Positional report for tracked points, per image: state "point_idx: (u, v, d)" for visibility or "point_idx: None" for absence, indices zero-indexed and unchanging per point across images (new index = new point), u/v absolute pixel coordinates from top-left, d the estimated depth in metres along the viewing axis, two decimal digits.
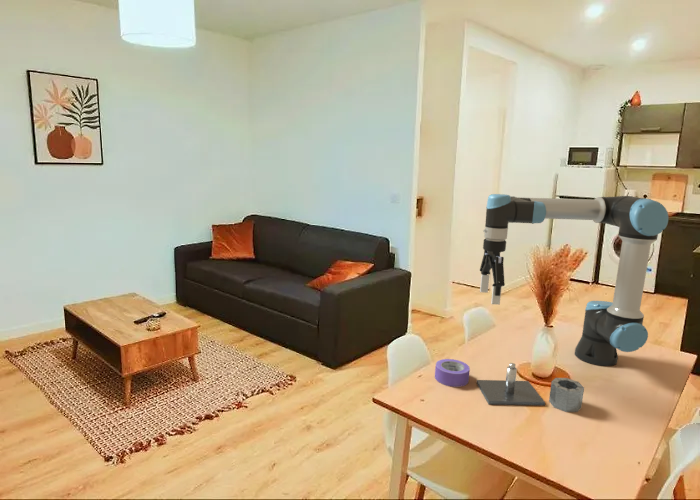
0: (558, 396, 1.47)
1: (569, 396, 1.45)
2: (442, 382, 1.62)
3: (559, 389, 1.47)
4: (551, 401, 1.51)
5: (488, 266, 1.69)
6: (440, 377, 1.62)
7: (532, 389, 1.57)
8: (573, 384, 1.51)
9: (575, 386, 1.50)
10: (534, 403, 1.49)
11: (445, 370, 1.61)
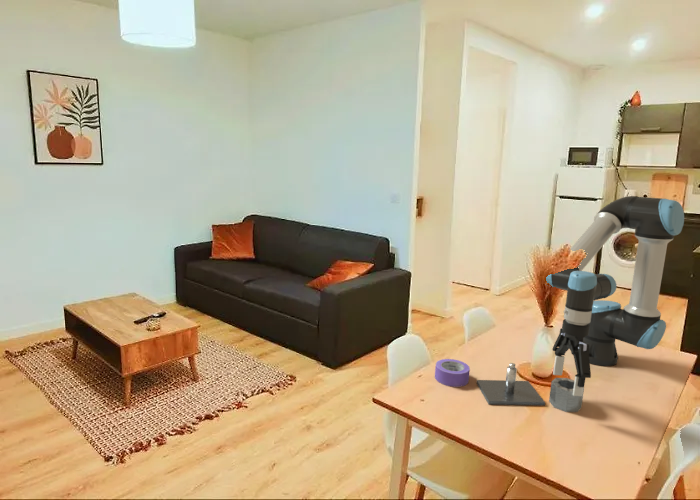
0: (558, 396, 1.47)
1: (569, 396, 1.45)
2: (442, 382, 1.62)
3: (559, 389, 1.47)
4: (551, 401, 1.51)
5: (565, 348, 1.51)
6: (440, 377, 1.62)
7: (532, 389, 1.57)
8: (573, 384, 1.51)
9: None
10: (534, 403, 1.49)
11: (445, 370, 1.61)
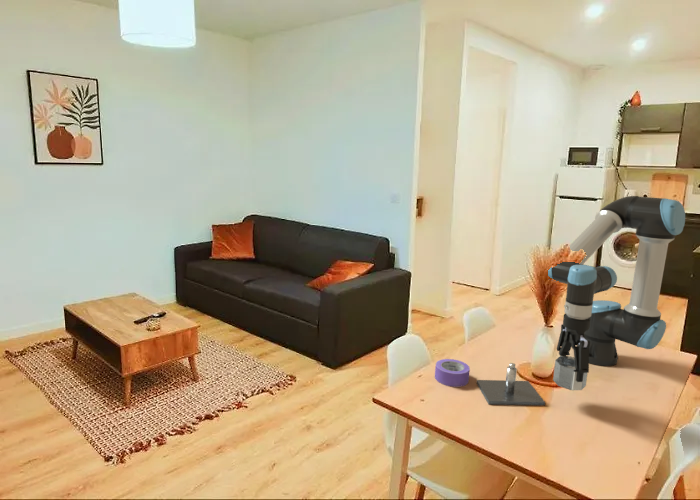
0: (562, 375, 1.46)
1: None
2: (442, 382, 1.62)
3: (563, 367, 1.46)
4: (555, 380, 1.50)
5: (568, 345, 1.50)
6: (440, 377, 1.62)
7: (532, 389, 1.57)
8: None
9: None
10: (534, 403, 1.49)
11: (445, 370, 1.61)
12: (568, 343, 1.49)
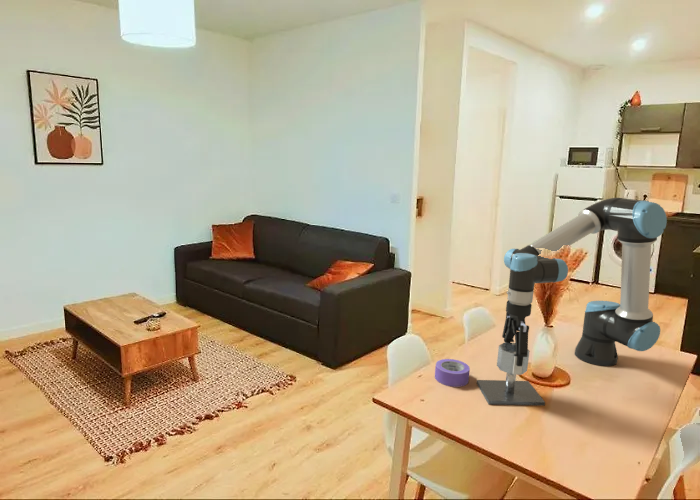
0: (504, 359, 1.51)
1: None
2: (442, 382, 1.62)
3: (505, 352, 1.50)
4: (498, 365, 1.54)
5: (512, 331, 1.55)
6: (440, 377, 1.62)
7: (532, 389, 1.57)
8: None
9: None
10: (534, 403, 1.49)
11: (445, 370, 1.61)
12: (511, 329, 1.54)
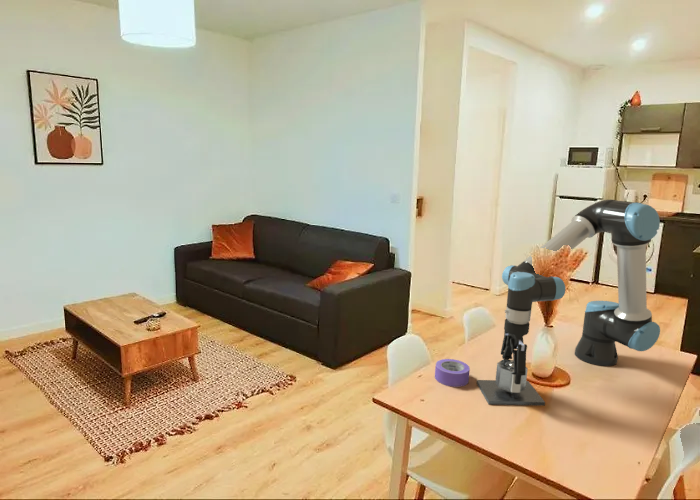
0: (502, 377, 1.52)
1: None
2: (442, 382, 1.62)
3: (503, 370, 1.52)
4: (497, 382, 1.56)
5: (510, 349, 1.56)
6: (440, 377, 1.62)
7: (532, 389, 1.57)
8: None
9: None
10: (534, 403, 1.49)
11: (445, 370, 1.61)
12: (510, 347, 1.56)
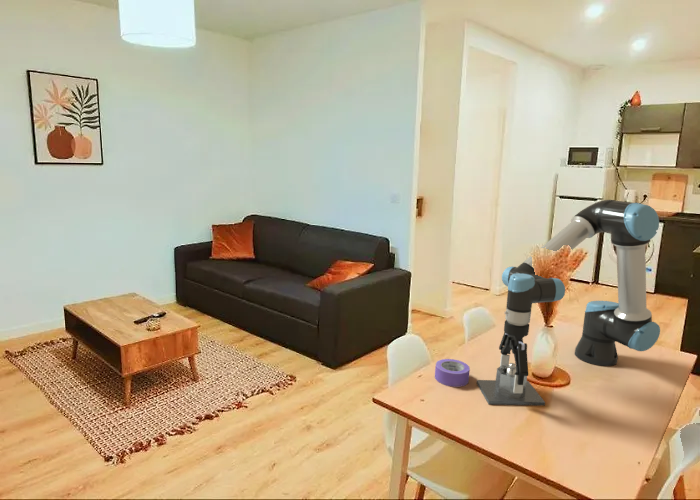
0: (502, 383, 1.53)
1: (512, 382, 1.51)
2: (442, 382, 1.62)
3: (503, 375, 1.52)
4: (496, 387, 1.56)
5: (509, 347, 1.57)
6: (440, 377, 1.62)
7: (532, 389, 1.57)
8: None
9: None
10: (534, 403, 1.49)
11: (445, 370, 1.61)
12: (509, 346, 1.57)
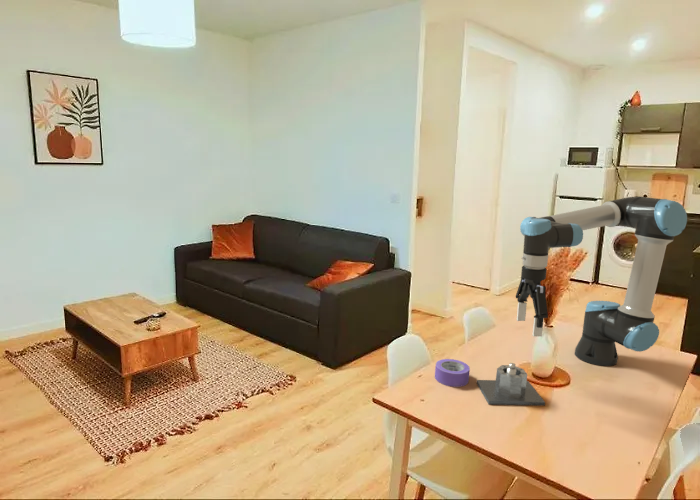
0: (502, 383, 1.53)
1: (512, 382, 1.51)
2: (442, 382, 1.62)
3: (503, 375, 1.52)
4: (496, 387, 1.56)
5: (526, 294, 1.59)
6: (440, 377, 1.62)
7: (532, 389, 1.57)
8: (518, 371, 1.56)
9: (519, 373, 1.55)
10: (534, 403, 1.49)
11: (445, 370, 1.61)
12: (526, 292, 1.58)
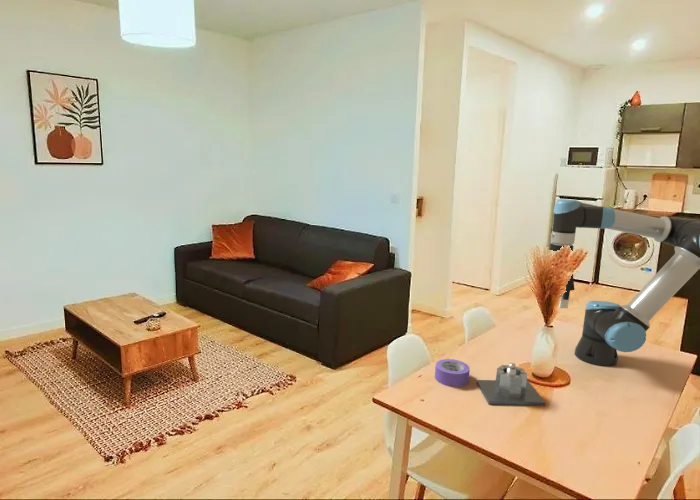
0: (502, 383, 1.53)
1: (512, 382, 1.51)
2: (442, 382, 1.62)
3: (503, 375, 1.52)
4: (496, 387, 1.56)
5: None
6: (440, 377, 1.62)
7: (532, 389, 1.57)
8: (518, 371, 1.56)
9: (519, 373, 1.55)
10: (534, 403, 1.49)
11: (445, 370, 1.61)
12: None
